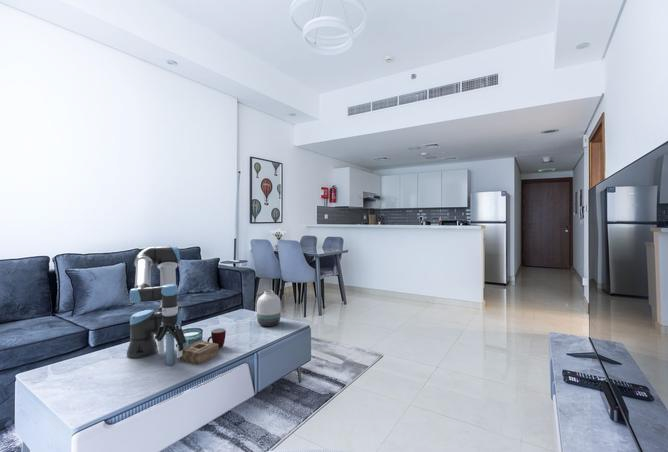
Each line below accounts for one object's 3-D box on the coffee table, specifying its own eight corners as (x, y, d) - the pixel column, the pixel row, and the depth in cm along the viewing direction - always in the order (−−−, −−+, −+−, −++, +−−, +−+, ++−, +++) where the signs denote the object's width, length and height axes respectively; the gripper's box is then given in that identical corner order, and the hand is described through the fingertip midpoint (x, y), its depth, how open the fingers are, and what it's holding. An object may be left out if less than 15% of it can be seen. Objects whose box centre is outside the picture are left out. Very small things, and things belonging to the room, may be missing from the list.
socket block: (179, 360, 174) (179, 348, 174) (199, 350, 187) (199, 340, 187) (199, 364, 168) (199, 353, 168) (218, 354, 181) (218, 343, 181)
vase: (256, 321, 240) (256, 289, 240) (279, 319, 245) (278, 288, 245) (257, 329, 224) (257, 294, 224) (282, 326, 229) (282, 293, 229)
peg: (164, 364, 169) (164, 334, 168) (170, 361, 172) (170, 331, 172) (169, 366, 167) (169, 335, 167) (176, 362, 171) (176, 332, 171)
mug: (211, 352, 184) (211, 335, 184) (204, 348, 189) (204, 332, 189) (228, 347, 192) (228, 330, 192) (221, 343, 197) (221, 327, 197)
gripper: (146, 313, 171) (147, 353, 171) (181, 319, 161) (181, 361, 161) (159, 310, 178) (159, 348, 178) (193, 315, 168) (193, 355, 168)
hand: (170, 354), depth 170 cm, fingers open, 13 cm apart
